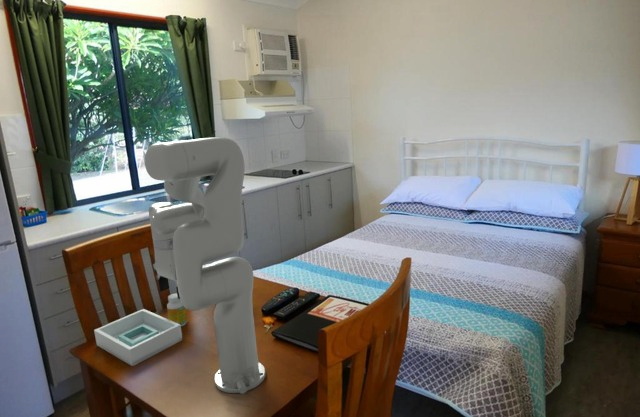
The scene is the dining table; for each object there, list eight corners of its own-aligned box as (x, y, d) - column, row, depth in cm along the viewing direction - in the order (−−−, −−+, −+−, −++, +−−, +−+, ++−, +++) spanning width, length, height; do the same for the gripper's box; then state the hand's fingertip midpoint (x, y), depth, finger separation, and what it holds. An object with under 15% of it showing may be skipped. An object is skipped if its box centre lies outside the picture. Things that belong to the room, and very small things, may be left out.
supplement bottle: (182, 328, 138) (177, 299, 135) (166, 327, 139) (162, 299, 136) (190, 320, 143) (186, 292, 140) (175, 319, 144) (171, 292, 141)
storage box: (182, 339, 130) (180, 324, 129) (132, 366, 118) (129, 349, 117) (145, 322, 143) (143, 308, 141) (96, 345, 130) (93, 330, 129)
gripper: (193, 243, 132) (200, 295, 136) (161, 234, 142) (167, 283, 147) (172, 251, 126) (179, 305, 131) (139, 241, 137) (147, 291, 141)
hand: (173, 293), depth 139 cm, fingers open, 9 cm apart
